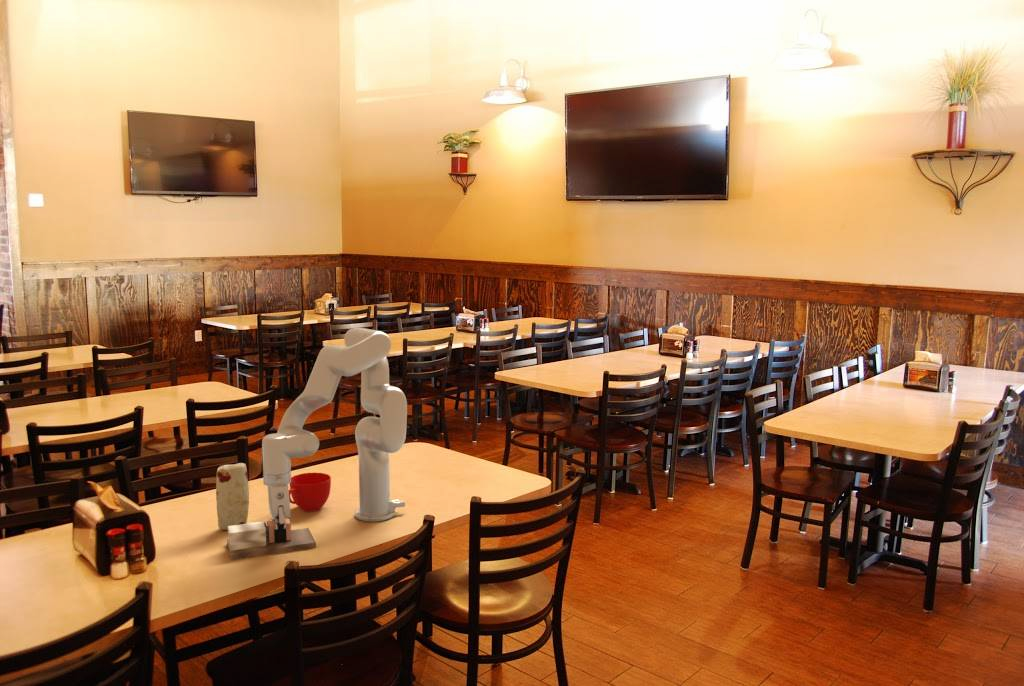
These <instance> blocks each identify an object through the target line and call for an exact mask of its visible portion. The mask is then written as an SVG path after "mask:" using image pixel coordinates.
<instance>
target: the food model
mask: <svg viewBox="0 0 1024 686" xmlns="http://www.w3.org/2000/svg"><path fill="white" fill-rule="evenodd" d="M216 469H217V470H216V478H215V479H216V483H215V488H216V490H215V501H216V514H217V525H218V529H219V530H224V531H226V530H227V531H228V526H232V525H240V524H247V522H248V517H249V505H250V504H249V503H250V488H249V477H248V470H247V465H246V463H243V462H238V463H235V464H223V465H220V466H219V467H218V468H216Z"/></svg>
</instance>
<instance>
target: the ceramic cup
mask: <svg viewBox="0 0 1024 686" xmlns="http://www.w3.org/2000/svg"><path fill="white" fill-rule="evenodd" d="M331 486H332V477H331V475H329V474H327V473H324V472H304V473H300V474H296V475H294V476H291V483H289V500H290V504H293V505H296V506H297V507H298V508H299V509H300V510H301V511H302V512H317V511H319V510H321V509H322V508H323V506H324V505H325V504H326V503H327V501H328V499H329V497H330V494H331ZM291 497H292V498H291Z"/></svg>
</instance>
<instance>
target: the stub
mask: <svg viewBox="0 0 1024 686" xmlns="http://www.w3.org/2000/svg"><path fill="white" fill-rule="evenodd" d="M278 522H279V521H277V524H278ZM266 525H267V528H268V537H269V543H273V542H275V537H274V529H275V520H274V521H272V520H268V521H266ZM285 525H286V540H291V530H292V525H291V521H290V518H289V519H288V518H285Z"/></svg>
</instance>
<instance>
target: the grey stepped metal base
mask: <svg viewBox="0 0 1024 686" xmlns="http://www.w3.org/2000/svg"><path fill="white" fill-rule="evenodd" d="M227 537H228V538H227V539H226V545H227V549H228V555H229V554H230V555H229V558H230V561H232V559H235V560H238V559H239V560H240V558H241V559H246V558H245V557H248V558H253V557H252V556H255V557H260V555H261V556H266V555H267V554H268V555H272V554H273V555H274V553H275V554H280V553H287V552H293V551H300V550H306V549H307V550H308V549H314V548H316V547H317V543H316V540H315V538H314V536H313V533H312V532H311V530H310V528H309V527H307V528H300V529H291V540H287V541H286V542H281V543H275V542H273V543H269V537H268V528H267V521H256V522H255V521H254V522H248V523H247V522H246V524H240V525H232V526H228V530H227ZM268 555H267V556H268Z"/></svg>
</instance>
